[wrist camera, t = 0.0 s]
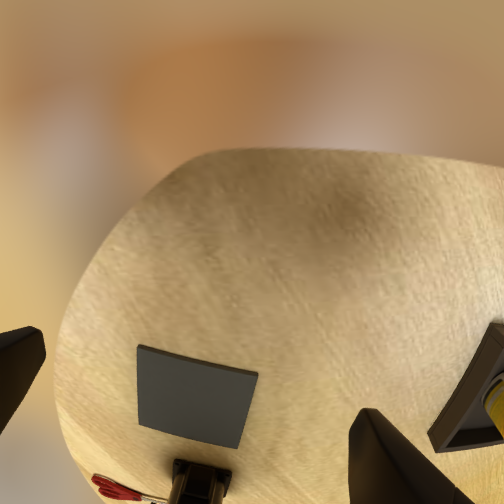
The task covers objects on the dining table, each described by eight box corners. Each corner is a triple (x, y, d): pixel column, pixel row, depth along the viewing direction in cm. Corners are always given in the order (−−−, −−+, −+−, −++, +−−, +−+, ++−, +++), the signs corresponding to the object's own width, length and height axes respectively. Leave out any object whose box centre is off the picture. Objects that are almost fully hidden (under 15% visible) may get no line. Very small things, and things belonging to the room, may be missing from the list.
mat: (237, 445, 27) (237, 449, 27) (140, 421, 28) (138, 424, 27) (258, 372, 25) (258, 376, 24) (138, 344, 25) (136, 347, 24)
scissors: (91, 473, 33) (88, 477, 32) (184, 496, 32) (182, 501, 31) (103, 491, 34) (100, 496, 33) (190, 512, 33) (188, 517, 32)
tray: (495, 427, 26) (505, 443, 23) (426, 433, 26) (435, 453, 23) (552, 331, 22) (568, 345, 19) (490, 322, 22) (507, 339, 19)
